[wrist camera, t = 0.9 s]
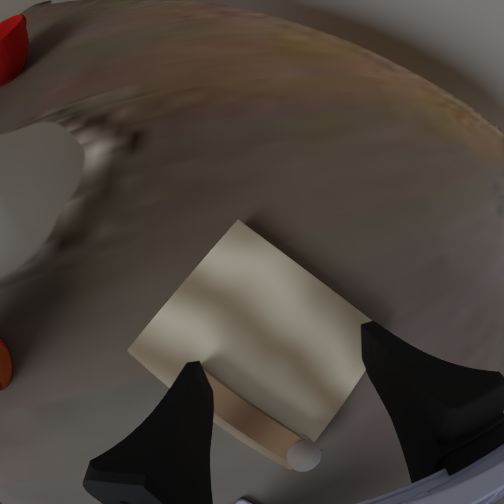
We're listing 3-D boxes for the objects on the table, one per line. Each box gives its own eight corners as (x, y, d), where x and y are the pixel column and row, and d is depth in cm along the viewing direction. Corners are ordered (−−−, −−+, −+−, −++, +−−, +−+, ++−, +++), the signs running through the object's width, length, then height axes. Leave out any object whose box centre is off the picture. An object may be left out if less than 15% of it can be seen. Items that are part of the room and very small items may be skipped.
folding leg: (317, 442, 20) (328, 451, 18) (299, 465, 19) (307, 476, 17) (201, 362, 22) (198, 363, 19) (181, 385, 21) (176, 389, 18)
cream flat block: (285, 462, 21) (290, 471, 19) (134, 350, 23) (126, 350, 21) (377, 334, 25) (388, 332, 23) (237, 228, 28) (238, 219, 26)
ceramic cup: (58, 34, 38) (45, -3, 29) (19, 89, 33) (-4, 47, 23) (12, 50, 37) (-3, 18, 28) (-27, 106, 32) (-50, 72, 22)
